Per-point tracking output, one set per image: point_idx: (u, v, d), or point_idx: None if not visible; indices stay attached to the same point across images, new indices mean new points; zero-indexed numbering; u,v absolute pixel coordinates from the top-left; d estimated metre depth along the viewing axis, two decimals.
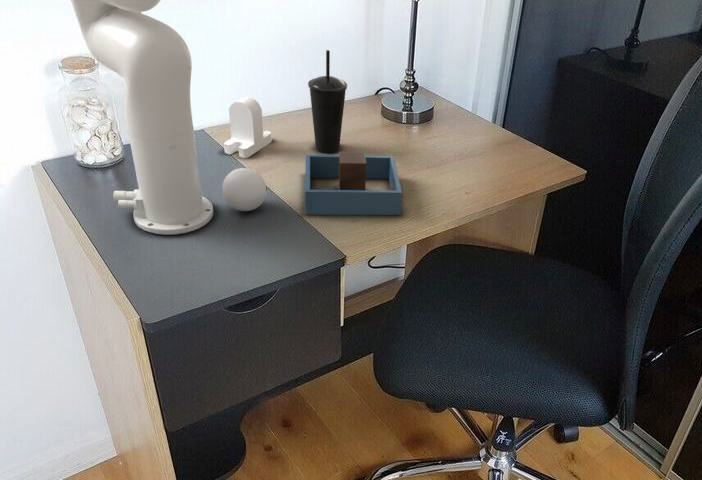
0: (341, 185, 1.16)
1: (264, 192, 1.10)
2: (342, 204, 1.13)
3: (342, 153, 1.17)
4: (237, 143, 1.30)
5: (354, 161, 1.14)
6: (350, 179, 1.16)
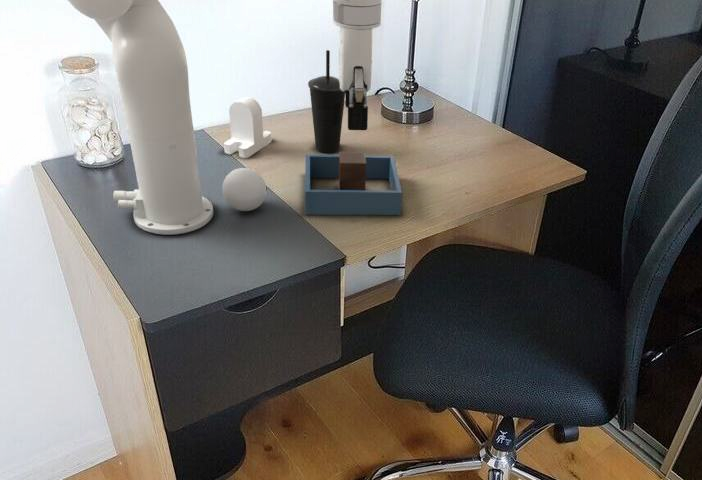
0: (341, 185, 1.16)
1: (264, 192, 1.10)
2: (342, 204, 1.13)
3: (342, 153, 1.17)
4: (237, 143, 1.30)
5: (354, 161, 1.14)
6: (350, 179, 1.16)
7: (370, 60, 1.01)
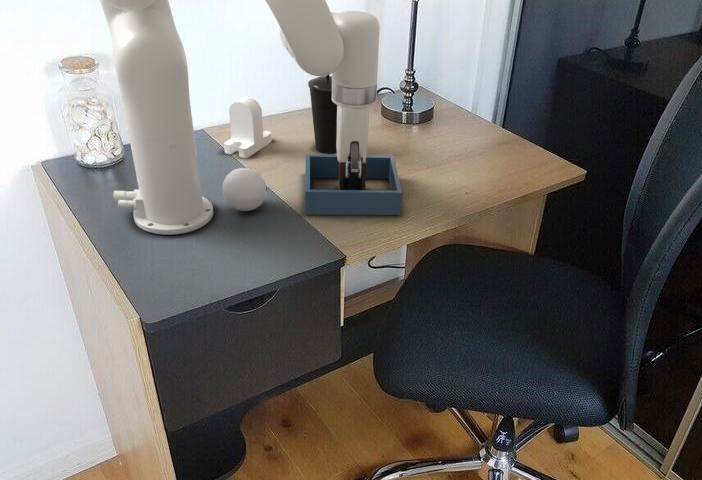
0: (341, 185, 1.16)
1: (264, 192, 1.10)
2: (342, 204, 1.13)
3: None
4: (237, 143, 1.30)
5: None
6: None
7: (366, 136, 1.09)
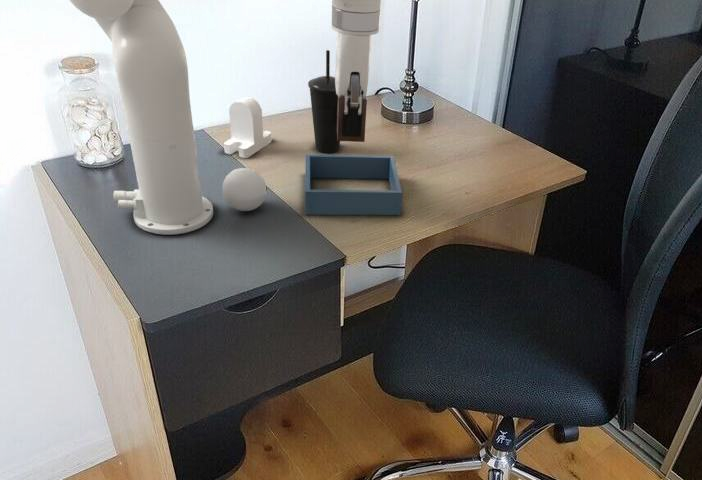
0: (340, 123, 1.09)
1: (264, 192, 1.10)
2: (342, 204, 1.13)
3: None
4: (237, 143, 1.30)
5: None
6: None
7: (367, 66, 1.02)
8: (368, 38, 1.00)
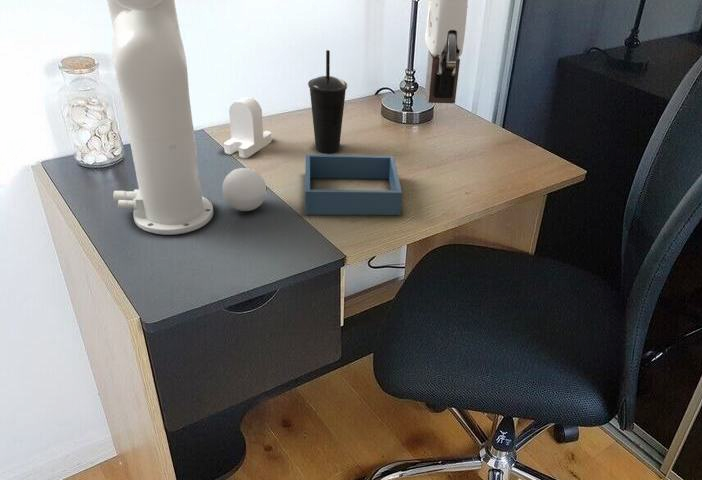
0: (432, 84, 1.09)
1: (264, 192, 1.10)
2: (342, 204, 1.13)
3: None
4: (237, 143, 1.30)
5: None
6: None
7: (464, 24, 1.02)
8: None
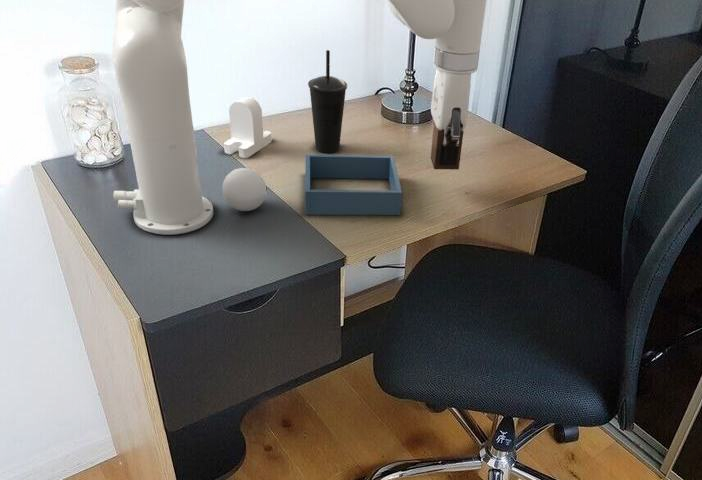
0: (437, 153, 1.17)
1: (264, 192, 1.10)
2: (342, 204, 1.13)
3: None
4: (237, 143, 1.30)
5: None
6: None
7: (468, 102, 1.09)
8: (469, 76, 1.08)
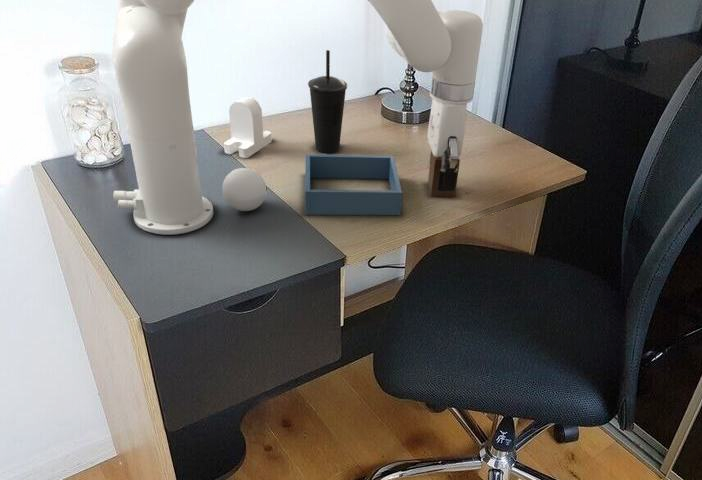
0: (434, 181, 1.20)
1: (264, 192, 1.10)
2: (342, 204, 1.13)
3: None
4: (237, 143, 1.30)
5: None
6: None
7: (463, 131, 1.12)
8: (465, 106, 1.11)
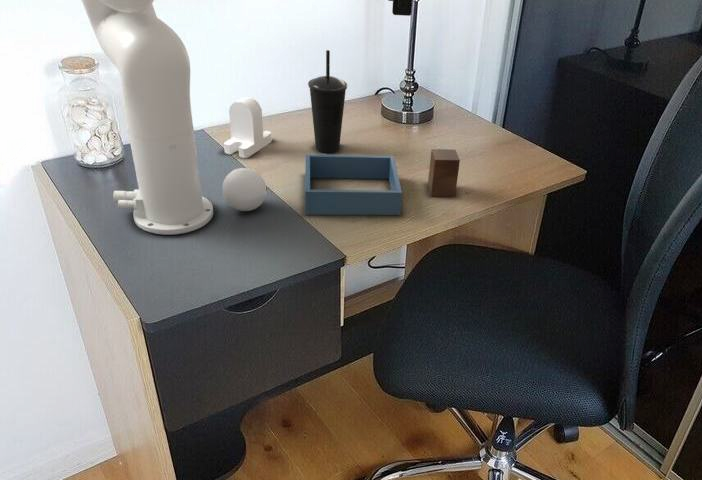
0: (434, 181, 1.20)
1: (264, 192, 1.10)
2: (342, 204, 1.13)
3: (435, 150, 1.21)
4: (237, 143, 1.30)
5: (448, 158, 1.18)
6: (443, 176, 1.20)
7: None
8: None
